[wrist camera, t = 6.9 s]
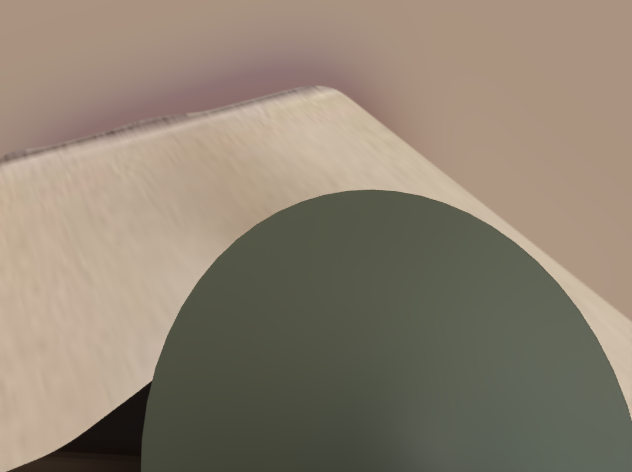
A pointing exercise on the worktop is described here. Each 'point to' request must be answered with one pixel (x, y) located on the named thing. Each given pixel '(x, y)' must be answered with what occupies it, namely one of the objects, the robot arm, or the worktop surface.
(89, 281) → the worktop surface
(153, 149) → the worktop surface
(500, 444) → the grey-green canister
